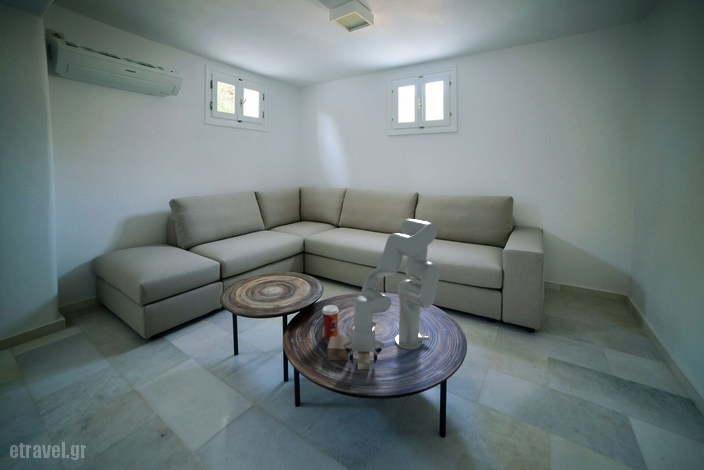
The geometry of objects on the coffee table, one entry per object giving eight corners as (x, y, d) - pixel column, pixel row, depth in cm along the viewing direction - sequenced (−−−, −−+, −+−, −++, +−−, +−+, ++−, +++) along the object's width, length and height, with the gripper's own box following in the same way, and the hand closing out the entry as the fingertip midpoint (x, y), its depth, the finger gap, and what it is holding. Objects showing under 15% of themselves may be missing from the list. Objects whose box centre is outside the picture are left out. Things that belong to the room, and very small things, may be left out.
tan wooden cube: (350, 348, 142) (349, 337, 140) (348, 360, 133) (347, 348, 132) (331, 347, 142) (330, 336, 141) (327, 359, 134) (327, 348, 132)
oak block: (369, 361, 132) (369, 347, 130) (369, 369, 127) (369, 354, 126) (357, 361, 132) (357, 347, 130) (357, 369, 127) (357, 354, 126)
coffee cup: (337, 340, 148) (336, 312, 144) (320, 339, 149) (319, 311, 146) (341, 331, 156) (340, 305, 152) (325, 330, 157) (324, 303, 154)
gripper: (383, 320, 129) (382, 356, 133) (343, 320, 129) (343, 355, 133) (385, 330, 121) (384, 367, 125) (342, 330, 122) (342, 367, 126)
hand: (363, 361), depth 129 cm, fingers open, 9 cm apart
